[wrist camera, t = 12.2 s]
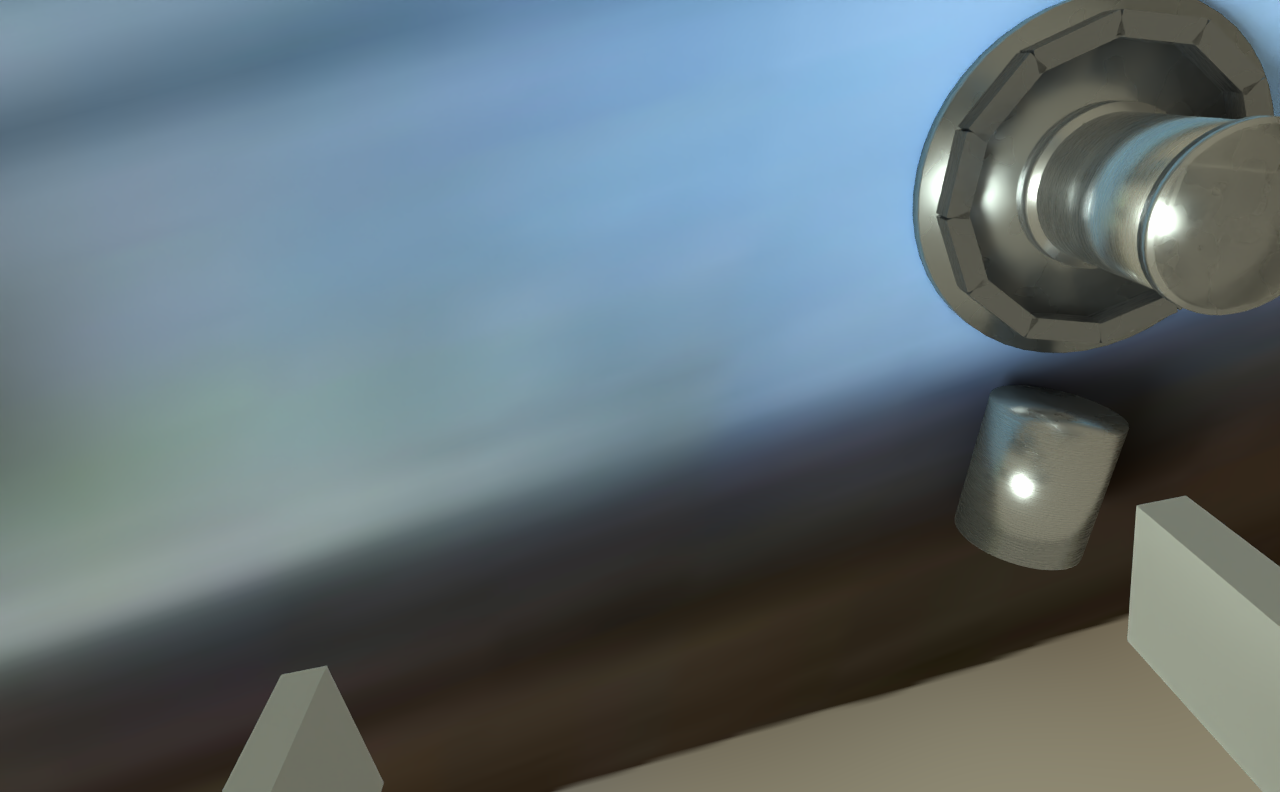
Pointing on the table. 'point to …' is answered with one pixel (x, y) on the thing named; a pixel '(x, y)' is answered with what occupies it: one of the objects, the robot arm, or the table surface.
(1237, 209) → the knob
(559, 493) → the table surface
